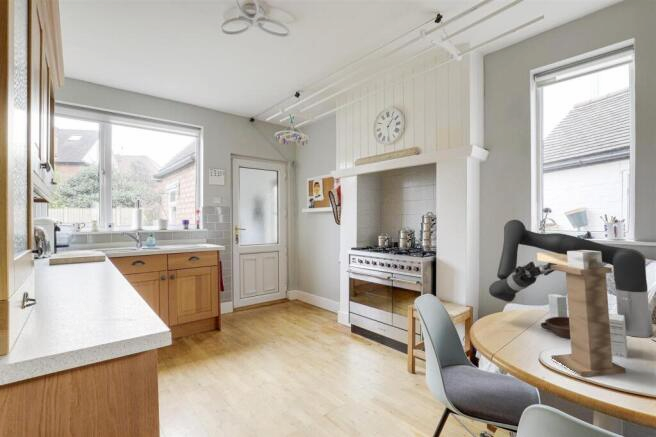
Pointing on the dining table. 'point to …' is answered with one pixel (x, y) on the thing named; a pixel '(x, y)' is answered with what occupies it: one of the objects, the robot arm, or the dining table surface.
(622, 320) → the supplement box
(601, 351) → the wooden i-beam column
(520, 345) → the dining table surface
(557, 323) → the dish
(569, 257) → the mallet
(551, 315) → the skincare box
